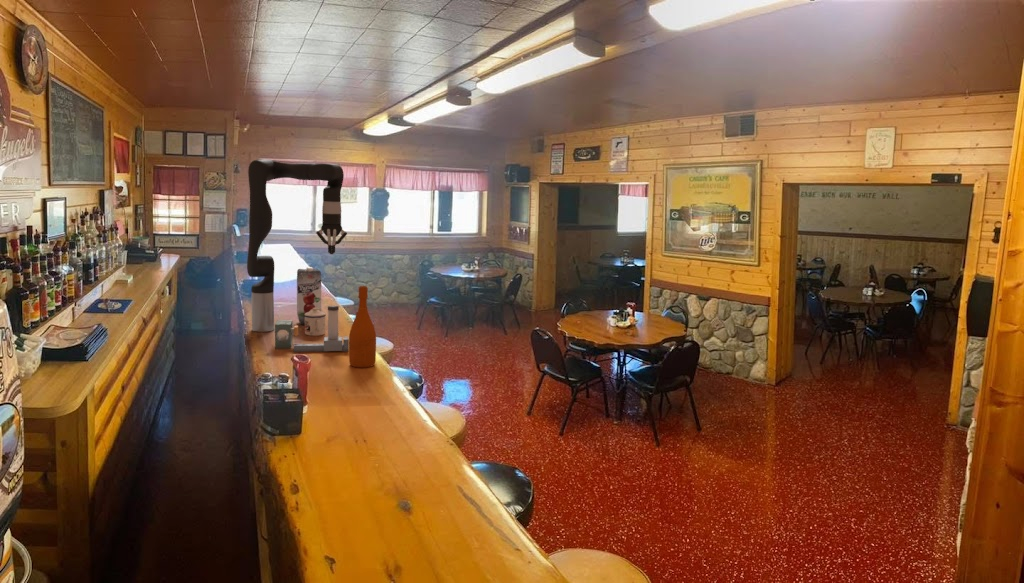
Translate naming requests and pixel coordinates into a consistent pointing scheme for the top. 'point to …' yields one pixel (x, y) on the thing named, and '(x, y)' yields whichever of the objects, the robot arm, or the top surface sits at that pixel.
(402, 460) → the top surface
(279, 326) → the gauge cabinet
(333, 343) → the post
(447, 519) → the top surface
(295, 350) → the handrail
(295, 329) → the plunger
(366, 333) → the wine bottle
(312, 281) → the juice carton
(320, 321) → the teacup with lid
